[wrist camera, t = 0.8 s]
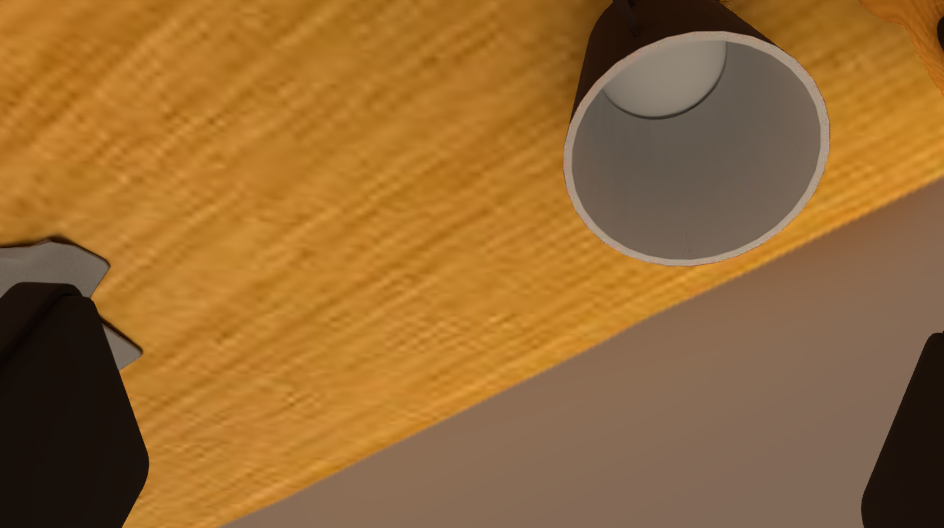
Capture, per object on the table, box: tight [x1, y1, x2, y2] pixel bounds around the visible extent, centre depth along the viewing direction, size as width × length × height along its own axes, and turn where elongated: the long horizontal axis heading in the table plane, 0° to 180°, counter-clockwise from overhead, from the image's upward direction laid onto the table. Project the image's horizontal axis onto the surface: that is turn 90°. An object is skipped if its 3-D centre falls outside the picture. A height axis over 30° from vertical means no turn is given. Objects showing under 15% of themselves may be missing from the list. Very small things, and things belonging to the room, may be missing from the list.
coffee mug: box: [563, 0, 830, 266], centre depth 30 cm, size 12×9×10 cm
